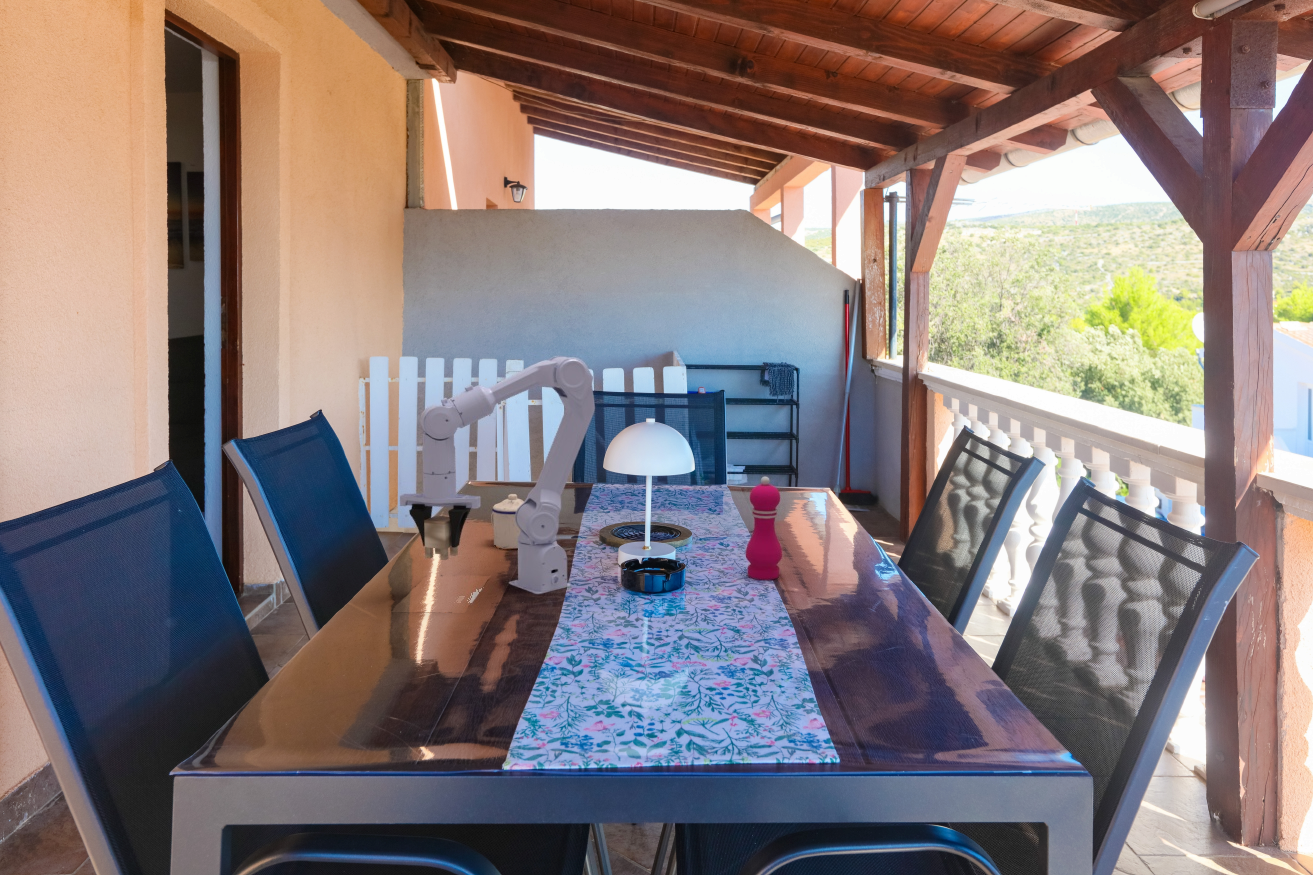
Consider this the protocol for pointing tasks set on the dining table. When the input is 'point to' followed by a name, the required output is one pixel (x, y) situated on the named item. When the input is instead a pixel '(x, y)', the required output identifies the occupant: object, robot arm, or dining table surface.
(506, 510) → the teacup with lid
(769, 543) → the pepper mill
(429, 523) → the beige notched block
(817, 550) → the dining table surface
